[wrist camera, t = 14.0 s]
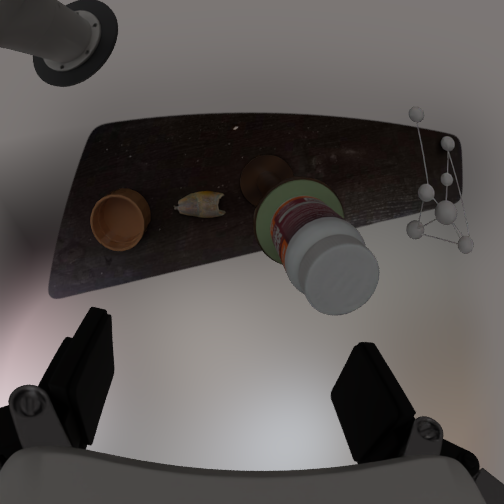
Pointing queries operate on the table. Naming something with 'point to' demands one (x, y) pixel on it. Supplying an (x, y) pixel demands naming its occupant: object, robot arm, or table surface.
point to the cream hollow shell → (201, 204)
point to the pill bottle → (323, 255)
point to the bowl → (120, 219)
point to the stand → (267, 181)
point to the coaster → (281, 196)
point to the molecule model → (444, 209)
